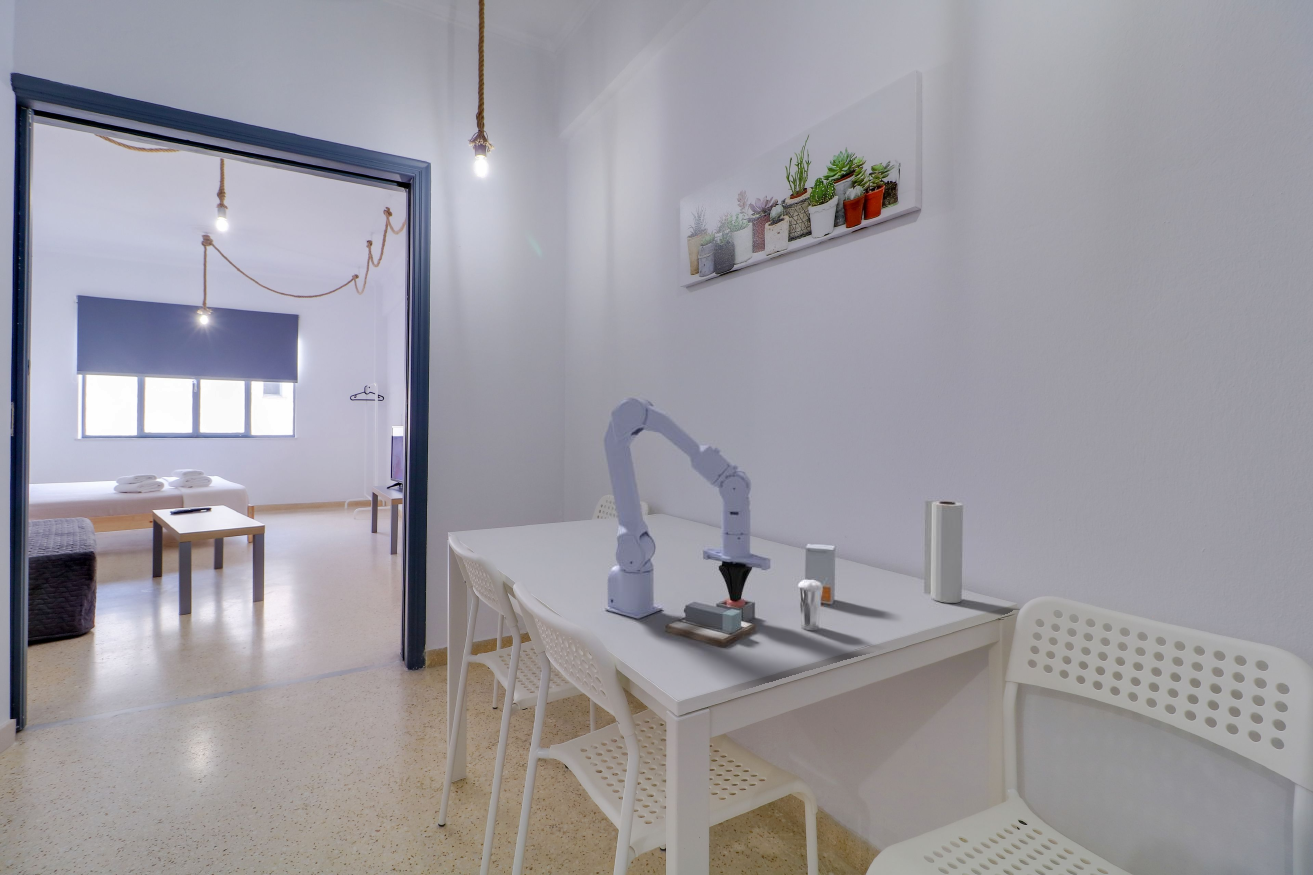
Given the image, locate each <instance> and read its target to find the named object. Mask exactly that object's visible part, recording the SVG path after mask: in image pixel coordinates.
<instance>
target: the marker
mask: <svg viewBox="0 0 1313 875" xmlns="http://www.w3.org/2000/svg"><path fill="white" fill-rule="evenodd" d="M683 612H684V617H685V621H687V622H691V623H695V624H699V625H703V626H707V627H711V628H715V629H719V630H723V631H726V632H730V633H733V632H735V631H737V630H739V629H741V611H739V610H734V609H731V610H729V609H724V608H720V607H716V605H715V606H714V605H709V604H706V603H702V602H697V601H693V602H691V603H688V604H685V606H684V609H683Z"/></svg>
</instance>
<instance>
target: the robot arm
mask: <svg viewBox="0 0 1313 875" xmlns="http://www.w3.org/2000/svg"><path fill="white" fill-rule="evenodd" d="M643 431H648V432H654V433H658V434H661V435H662V436H663V437H664V438H666V440H668V441H669V442H671V443H672V444H673V445H674V446H676V447H677V448H678V449H679V450H680V451H682V452H683V453H684V454H685V455H686V456H688V457H689V459H690V467H691V468H692V469H693V470H695V472H696V473H697V474H699V475H700V476H701V477H702V478H703V479H705V480H706V481H707V482H708V483H709V484H711V486H712V487H713V488H717V489H718V492H719V495H720V496H721V498H722V499H721V501H722V502H721V503H722V504H721V505H722V506H721V512H720V514H721V520H720V521H721V526H720V527H721V528H720V529H721V534H720V535H721V536H720V539H721V543H720V544H721V549H718V548H717V549H716V548H715V549H714V548H710V547H709V548H705V549H702V560H706V561H709V560H711V561H718V562H721V565H718V571H719V572H720V573H721V576H722V577H723V580H724V583H725V585H726V589H727V592H728V596H729V597H728V598H730V600H731V601H735V602H736V601H738V600H741V598H742V596H743V591H744V589H745V585H746V582H747V579H748V577H749V575H750V573H751V572H752V570H753V568H756V569H761V571H768V570H770V569H771V558H769V557H763V556H760V555H757V554H753V553H751V509H750V505H751V501H750V497H749V495H750V493H751V490H752V481H751V479H750V478H749V476H748V475H747V474H746V472H745V471H743V470H740V469H739V466H738V465H737V464H731V462H730V461H729V460H727V459H726V458H725V457H724V456H723V455H722V454H721V449H719V448H718V447H717V446H716V447H712V446H711V445H709V444H707V445H701V444H700V443H698V442H697V441H696V440H695V439H694V438H693V437H692V436H691V435H690V434H689V433H688V432H687V431H686V430H684V429H683V427H681V426H680V425H679V424H678V423H677V422H676V421H675V420H674V419H673V418H672V417H671V416H670V415H668V413H666V412H664V411H663V410H662V409H661V408H659V407H658V406H655V405H654V404H653V403H652V402H651V401H650V400H648V399H646V398H635V397H625V398H624V399H622V400H621V401H619V403H618V404H617V405H616V406H615V407H614V408H613V409H612V410H611V412H610V420H609V423H608V426H607V429H606V432H605V434H604V438H603V446H604V451H605V458H606V462H607V468H608V472H609V473H608V474H609V477H610V478H609V479H610V484H611V488H612V489H611V490H612V494H613V495H612V496H613V500H614V505H615V510H616V516H617V522H618V528H617V534H616V541H617V547H616V550H615V561H616V562H617V565H615V566H612V568H611V569H610V571H609V573H608V575H607V606H604V607H605V608H604V609H605V611H609V612H613V613H616V614H619V615H623V616H627V617H630V618H634V619H642V618H644V617H646V616H649V615H652V614H654V613H657V612H658V611H661V610H663V608H664V607H663V606H661V605H658V604H655V601H654V600H655V599H654V598H655V595H654V594H655V592H654V590H655V589H654V587H655V586H654V583H655V582H654V577H655V576H654V575H655V574H654V567H655V566H654V564H653V562H652V559H651V558H653V557H654V556H655V554H656V553H655V552H656V548H657V547H656V542H655V540H654V538H653V536H651V534H650V532H649V526H648V525H647V523H646V521H645V520H644V518H643V517H644V516H643V512H642V507H641V501H640V495H639V491H638V489H639V488H638V486H637V478H636V474H635V468H634V463H633V458H632V452H631V448H630V446H631V445H632V443H633V442H634V441H635V440H636V438H637V437H638V435H639V434H640V433H641V432H643Z"/></svg>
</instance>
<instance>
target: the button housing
mask: <svg viewBox="0 0 1313 875" xmlns="http://www.w3.org/2000/svg"><path fill="white" fill-rule="evenodd" d="M727 599H728V598H726V599H724V600H722V601H720V602H717V603H715V606H716V607H720V608H724V609H729V610H731V609H734V610H739V611H741V621H742V622H746V623H748V621H751V620H752V619H755V617H756V602H755V601H751V600H746V599H744V600H745V606H743V607H740V608H737V607H733V606H729V605H727Z"/></svg>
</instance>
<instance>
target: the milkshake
mask: <svg viewBox="0 0 1313 875" xmlns="http://www.w3.org/2000/svg"><path fill="white" fill-rule="evenodd" d="M826 579H827V578H826ZM825 581H826V580H825ZM824 583H825V582H824ZM823 585H824V584H823ZM797 588H798V589H797V590H798V596H799V597H798V598H799V609H800V622H801V624H800V625H801V629H803V630H805V631H809V632H810V631H811V632H812V631H813V632H814V631H819V629H820V618H821V617H820V615H821V606H822V603H821V599H822V590H823V586H822V584H821V583H820V582H818V581H815V580H805V579H803V580H801V581H800V582H799V583H798V584H797Z"/></svg>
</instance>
